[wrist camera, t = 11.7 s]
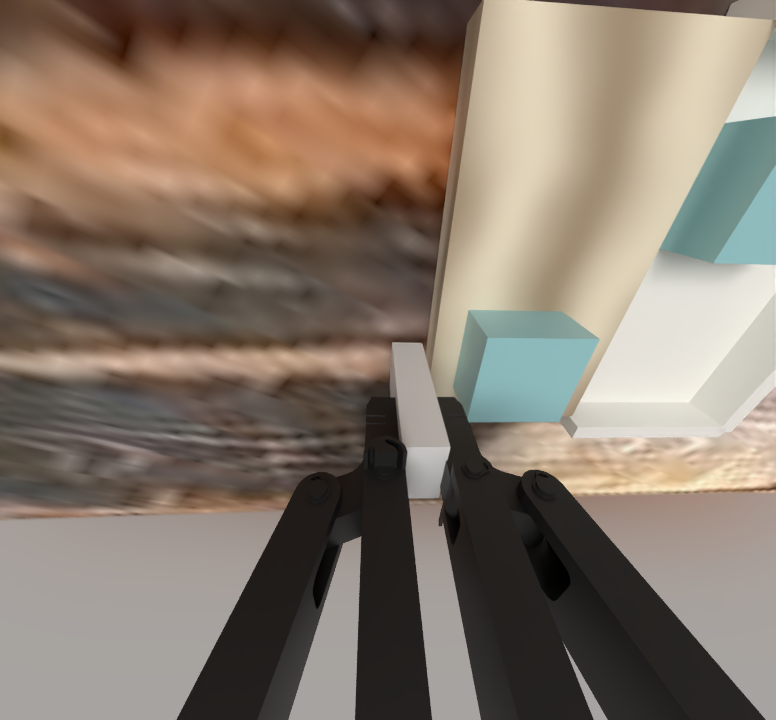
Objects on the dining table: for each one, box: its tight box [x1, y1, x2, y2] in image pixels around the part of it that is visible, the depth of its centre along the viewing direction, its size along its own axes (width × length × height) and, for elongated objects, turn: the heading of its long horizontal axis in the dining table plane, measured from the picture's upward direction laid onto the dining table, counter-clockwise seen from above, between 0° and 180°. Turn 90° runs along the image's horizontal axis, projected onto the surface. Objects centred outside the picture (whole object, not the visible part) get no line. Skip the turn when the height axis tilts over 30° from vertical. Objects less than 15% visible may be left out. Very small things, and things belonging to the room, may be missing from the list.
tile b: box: [453, 310, 600, 422], centre depth 15 cm, size 5×5×3 cm
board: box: [425, 0, 776, 416], centre depth 15 cm, size 10×18×2 cm, turn 178°
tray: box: [560, 0, 776, 438], centre depth 15 cm, size 11×20×3 cm, turn 178°
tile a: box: [659, 116, 776, 265], centre depth 12 cm, size 5×5×3 cm
